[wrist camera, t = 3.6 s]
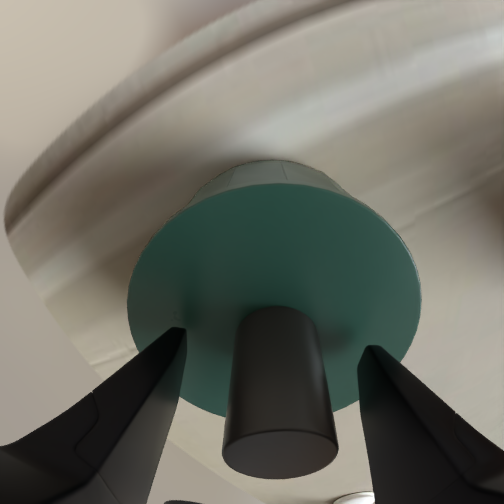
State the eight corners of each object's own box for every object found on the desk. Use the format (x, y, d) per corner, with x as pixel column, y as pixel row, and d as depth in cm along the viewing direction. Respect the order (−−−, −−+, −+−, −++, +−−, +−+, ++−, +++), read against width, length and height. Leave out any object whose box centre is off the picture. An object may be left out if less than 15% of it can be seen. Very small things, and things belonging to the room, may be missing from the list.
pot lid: (101, 328, 11) (41, 436, 6) (243, 106, 8) (212, 98, 3) (290, 425, 13) (294, 527, 8) (453, 288, 10) (530, 391, 5)
